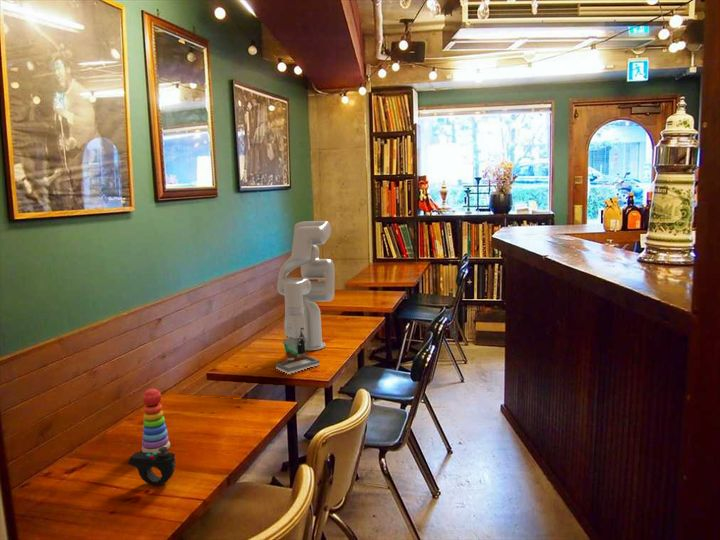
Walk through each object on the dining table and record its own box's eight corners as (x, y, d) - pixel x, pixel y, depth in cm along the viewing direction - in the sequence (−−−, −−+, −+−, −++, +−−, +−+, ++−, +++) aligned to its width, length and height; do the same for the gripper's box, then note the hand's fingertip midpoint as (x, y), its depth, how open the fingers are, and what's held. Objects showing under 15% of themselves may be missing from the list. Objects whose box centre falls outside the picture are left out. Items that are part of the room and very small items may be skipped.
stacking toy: (166, 455, 160) (160, 394, 157) (138, 457, 160) (131, 396, 157) (173, 442, 168) (167, 384, 165) (146, 444, 167) (140, 386, 164)
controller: (172, 489, 142) (168, 453, 140) (128, 486, 144) (124, 450, 142) (180, 480, 146) (176, 445, 144) (138, 477, 148) (134, 443, 146)
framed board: (276, 369, 231) (275, 363, 231) (307, 360, 241) (306, 355, 241) (288, 374, 224) (288, 369, 224) (319, 365, 234) (319, 360, 233)
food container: (297, 362, 224) (294, 338, 223) (285, 363, 227) (282, 339, 226) (314, 356, 234) (311, 333, 234) (302, 356, 237) (299, 333, 237)
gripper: (275, 309, 233) (278, 349, 235) (298, 315, 220) (300, 358, 222) (291, 306, 238) (293, 346, 240) (313, 311, 224) (316, 354, 227)
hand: (296, 351), depth 231 cm, fingers closed on food container, 6 cm apart
